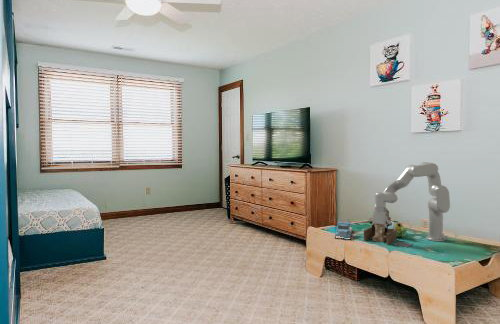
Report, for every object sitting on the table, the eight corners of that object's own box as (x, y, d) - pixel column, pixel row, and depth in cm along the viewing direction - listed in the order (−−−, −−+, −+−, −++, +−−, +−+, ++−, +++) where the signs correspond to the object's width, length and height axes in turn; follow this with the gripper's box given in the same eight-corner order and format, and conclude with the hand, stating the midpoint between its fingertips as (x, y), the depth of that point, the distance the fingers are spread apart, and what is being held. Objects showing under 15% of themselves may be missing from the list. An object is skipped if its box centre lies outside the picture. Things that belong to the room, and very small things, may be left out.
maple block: (384, 236, 273) (384, 226, 272) (381, 237, 269) (381, 227, 269) (377, 235, 276) (378, 225, 276) (375, 236, 272) (375, 226, 272)
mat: (412, 244, 262) (412, 243, 262) (407, 247, 254) (407, 246, 254) (398, 241, 269) (398, 241, 269) (393, 244, 261) (393, 244, 261)
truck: (334, 239, 279) (334, 220, 278) (337, 230, 306) (337, 213, 305) (350, 240, 275) (350, 221, 274) (352, 231, 303) (352, 213, 302)
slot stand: (396, 240, 274) (396, 229, 273) (387, 245, 261) (388, 234, 260) (373, 235, 286) (373, 226, 285) (363, 240, 273) (363, 230, 273)
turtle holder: (398, 240, 272) (398, 225, 271) (383, 234, 289) (383, 220, 289) (412, 239, 275) (412, 224, 274) (396, 233, 292) (397, 219, 292)
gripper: (393, 209, 268) (392, 232, 269) (371, 206, 280) (370, 228, 281) (389, 211, 263) (389, 234, 264) (366, 208, 274) (366, 230, 275)
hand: (379, 231), depth 272 cm, fingers open, 9 cm apart
